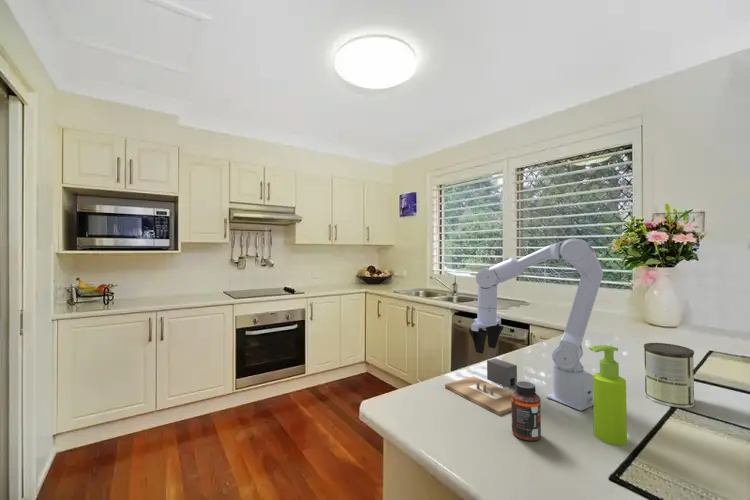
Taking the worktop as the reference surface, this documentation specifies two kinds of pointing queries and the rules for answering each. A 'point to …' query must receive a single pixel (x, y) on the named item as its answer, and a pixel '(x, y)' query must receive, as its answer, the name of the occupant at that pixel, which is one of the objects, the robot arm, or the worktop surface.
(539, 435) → the supplement bottle
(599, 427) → the soap dispenser
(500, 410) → the pin board
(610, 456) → the worktop surface
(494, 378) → the block
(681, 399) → the coffee can
